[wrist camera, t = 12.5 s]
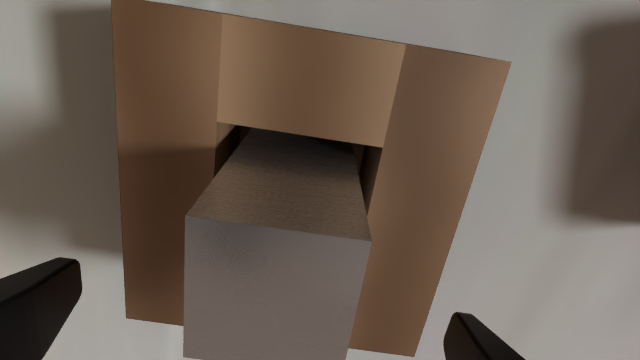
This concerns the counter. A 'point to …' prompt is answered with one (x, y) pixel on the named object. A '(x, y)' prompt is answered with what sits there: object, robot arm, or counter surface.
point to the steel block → (276, 252)
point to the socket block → (304, 119)
